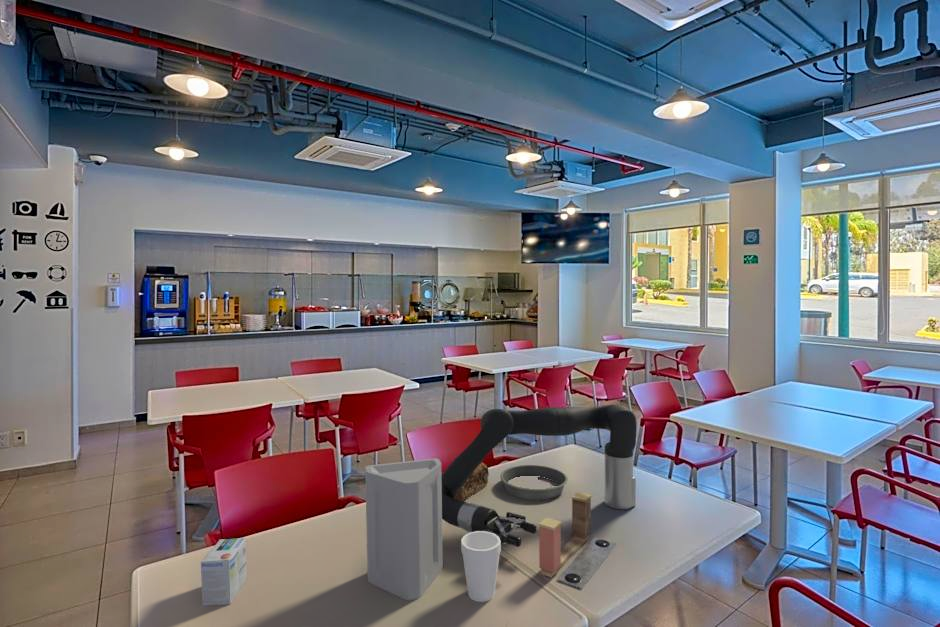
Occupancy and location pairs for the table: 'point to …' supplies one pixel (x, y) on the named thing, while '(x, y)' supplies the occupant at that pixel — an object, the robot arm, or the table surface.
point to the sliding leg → (550, 544)
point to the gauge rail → (572, 542)
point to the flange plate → (587, 562)
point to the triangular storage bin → (404, 526)
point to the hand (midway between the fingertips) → (528, 535)
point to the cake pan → (534, 471)
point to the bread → (474, 482)
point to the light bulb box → (223, 572)
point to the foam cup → (481, 563)
